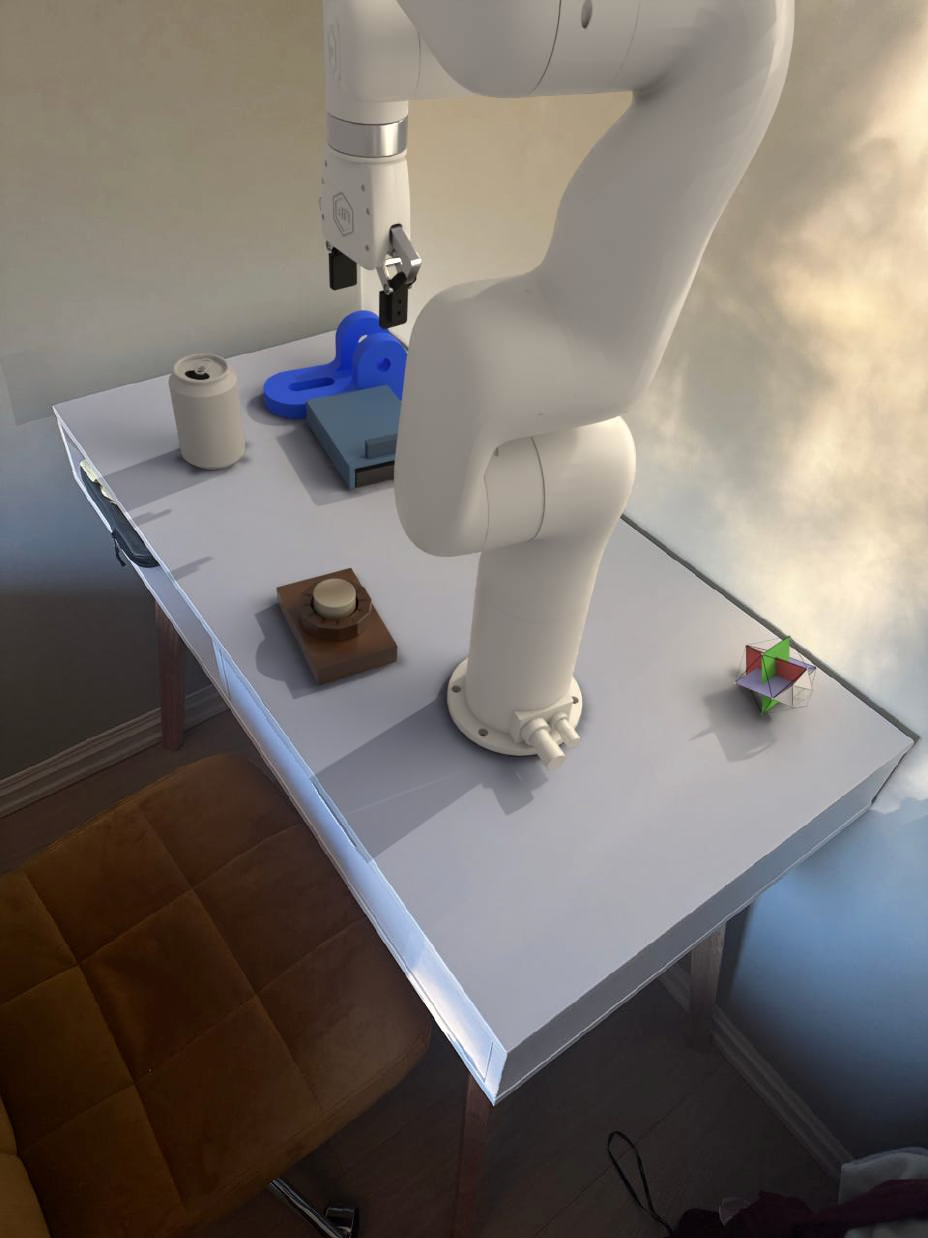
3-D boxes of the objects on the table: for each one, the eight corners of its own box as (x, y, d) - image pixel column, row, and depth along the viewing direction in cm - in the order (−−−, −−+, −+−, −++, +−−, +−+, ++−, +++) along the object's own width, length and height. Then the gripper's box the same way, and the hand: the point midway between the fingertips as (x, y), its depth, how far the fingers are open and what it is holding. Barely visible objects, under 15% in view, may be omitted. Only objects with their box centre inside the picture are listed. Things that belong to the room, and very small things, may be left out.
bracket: (383, 368, 126) (384, 306, 119) (407, 398, 121) (409, 336, 114) (256, 390, 119) (250, 326, 113) (275, 423, 114) (270, 359, 108)
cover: (435, 469, 109) (437, 432, 106) (349, 489, 105) (348, 451, 102) (387, 406, 118) (387, 370, 115) (306, 422, 114) (304, 385, 111)
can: (169, 464, 107) (152, 373, 98) (202, 431, 112) (188, 342, 103) (227, 480, 106) (214, 389, 97) (257, 446, 111) (247, 357, 102)
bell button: (362, 613, 87) (361, 600, 85) (322, 625, 85) (321, 612, 84) (346, 587, 89) (346, 574, 88) (308, 597, 88) (307, 584, 86)
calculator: (426, 471, 110) (426, 455, 108) (356, 487, 106) (356, 471, 105) (381, 411, 118) (381, 396, 116) (315, 424, 115) (314, 409, 113)
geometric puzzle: (706, 663, 87) (766, 648, 80) (751, 634, 91) (813, 618, 83) (739, 729, 87) (802, 721, 80) (783, 698, 91) (847, 687, 84)
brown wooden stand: (397, 661, 88) (398, 632, 85) (318, 686, 85) (316, 657, 82) (351, 582, 95) (350, 554, 92) (277, 602, 92) (274, 573, 89)
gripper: (285, 109, 87) (296, 280, 100) (384, 170, 78) (382, 350, 91) (352, 100, 91) (354, 266, 103) (454, 157, 82) (443, 332, 94)
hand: (367, 305), depth 97 cm, fingers open, 9 cm apart
